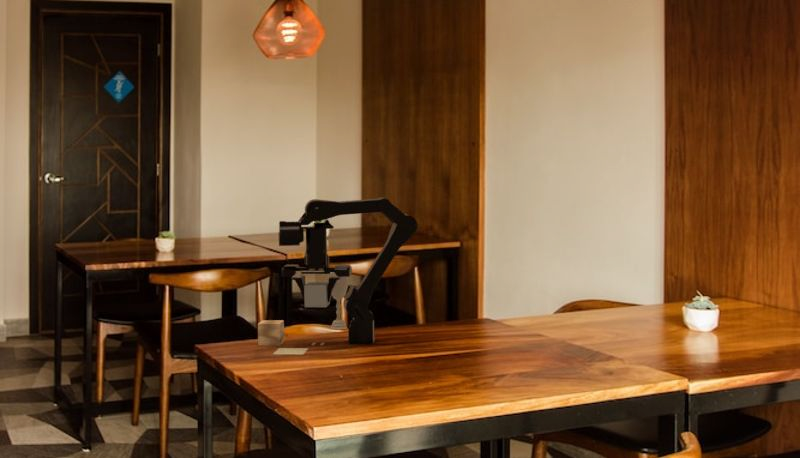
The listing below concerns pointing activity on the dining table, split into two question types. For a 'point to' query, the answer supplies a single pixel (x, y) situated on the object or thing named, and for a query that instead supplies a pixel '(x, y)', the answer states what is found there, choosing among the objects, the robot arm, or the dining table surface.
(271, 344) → the birch block
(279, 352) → the mat
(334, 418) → the dining table surface
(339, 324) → the chalice
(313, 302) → the slate block
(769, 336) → the dining table surface
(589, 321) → the dining table surface
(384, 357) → the dining table surface
